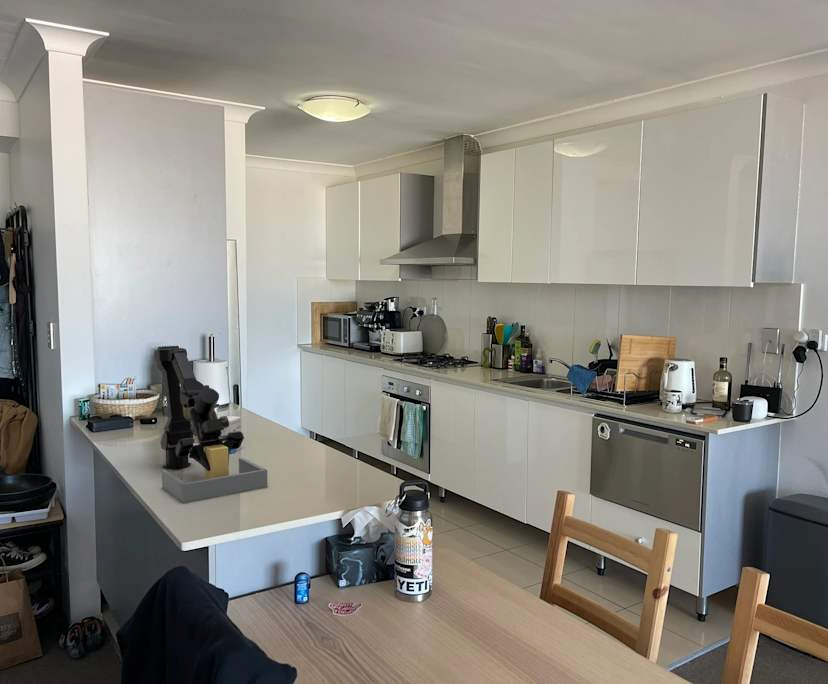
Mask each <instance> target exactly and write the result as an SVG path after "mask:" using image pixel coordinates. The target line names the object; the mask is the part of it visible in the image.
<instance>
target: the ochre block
mask: <svg viewBox="0 0 828 684" xmlns="http://www.w3.org/2000/svg"><path fill="white" fill-rule="evenodd" d="M204 452H205V455H206V457H207V460H208V462H209V465H210V471H207V470H206V469H205V468H204V480H206V479H212V478H217V477H223V476H229V475H230V473H229V469H230V468H229V467H230V465H229V464H230V461H229V462H228V447H226V446H224V445H222V444H220V445H213V446H206V447H204Z"/></svg>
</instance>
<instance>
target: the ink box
mask: <svg viewBox="0 0 828 684" xmlns="http://www.w3.org/2000/svg"><path fill="white" fill-rule="evenodd" d="M227 418H228V421H229V426H228V427H227V428H224V430H222V431H221V433H222V434H221V436H219V438H226V437H227V435H228V433H230V432H237V431H240V432H242V417H241V416H233V415H227ZM241 449H242V444H241V445H240V447H239V448H238V449H232V450H230V452H229V455H230V454H231V455H232V454H233V453H235V452H237V451H240V450H241Z"/></svg>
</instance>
